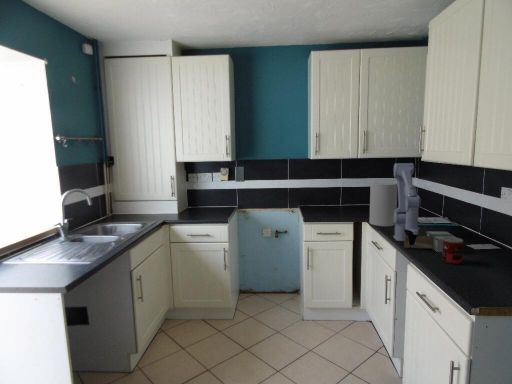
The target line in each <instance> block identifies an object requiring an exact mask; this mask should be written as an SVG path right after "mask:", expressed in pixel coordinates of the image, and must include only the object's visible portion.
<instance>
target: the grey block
mask: <svg viewBox="0 0 512 384" xmlns="http://www.w3.org/2000/svg"><path fill="white" fill-rule="evenodd" d="M425 232H426V233H425V234H426V236H432V237H433V248H432V250H433V249H434V250H435V251H436V252H443V238H444V237H456V236H455V235H453V234H451V233H449V232H448V231H429V230H428V231H425ZM434 250H433V251H434ZM435 251H434V252H435ZM436 252H435V253H436Z"/></svg>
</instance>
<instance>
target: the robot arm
mask: <svg viewBox="0 0 512 384" xmlns="http://www.w3.org/2000/svg"><path fill="white" fill-rule="evenodd" d="M414 172H415V164H414V163H413V162H409V163H407V162H405V163H404V162H401V163H400V162H399V163H398V162H397V163H396V162H395V163H394V165H393V177H394V179H395V180H397V183H398V186H397V202H398V206H397V209H396V210H395V211H394V216H393V220H394V223H395V224H396V225H394V235H392V237H393V238H394V240H395V241H397V242H404V238H405V236H408V239H409V245H414V243H415V240H416V238H417V236H420V235H419V230H420V229H421V228H420V226H418V225H419V224H418V223H419V208H421V206H422V205H421V204H422V203H421V200H422V199H421V197H420V196H419V194H418V192H417V188H416V186H415V185H414V184H413V177H412V176H413V175H414Z"/></svg>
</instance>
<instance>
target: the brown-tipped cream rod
mask: <svg viewBox="0 0 512 384" xmlns="http://www.w3.org/2000/svg"><path fill="white" fill-rule="evenodd" d="M403 247H404V248H405V249H433V237H432V236H427V235H418V236H417V238H416V240H415V243H414V245H409V239H408V236H405V238H404V241H403ZM410 247H411V248H410Z"/></svg>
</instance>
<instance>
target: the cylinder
mask: <svg viewBox="0 0 512 384" xmlns="http://www.w3.org/2000/svg"><path fill="white" fill-rule="evenodd" d="M369 185H370V187H369V188H370V190H369V191H370V193H369V194H370V195H369V224H371V225H373V226H378V227H392V226H393V227H395V225H396V224H395V223H394V220H393V216H394V211H395V210H396V209H397V208H398V205H397V204H398V182H397V183H396V182H384V183H383V182H374V183H373V182H370V184H369Z"/></svg>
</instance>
